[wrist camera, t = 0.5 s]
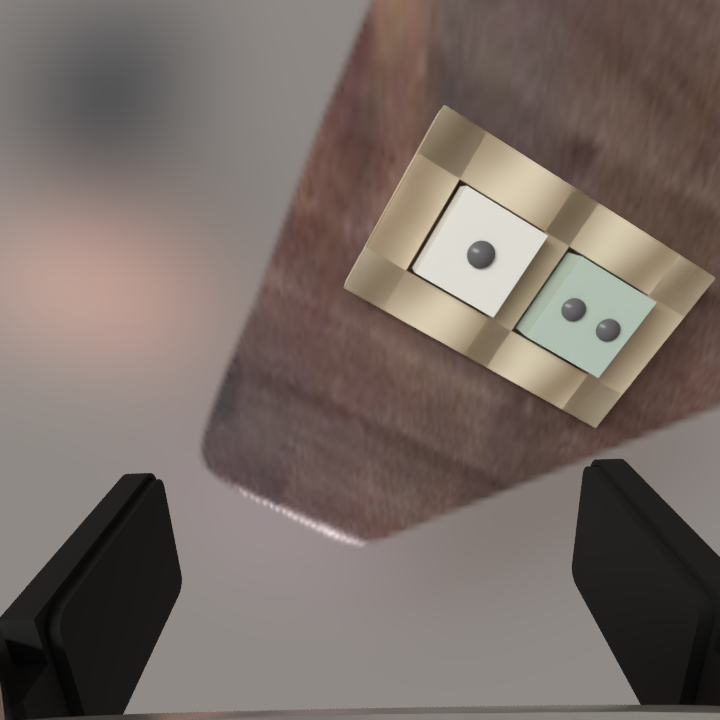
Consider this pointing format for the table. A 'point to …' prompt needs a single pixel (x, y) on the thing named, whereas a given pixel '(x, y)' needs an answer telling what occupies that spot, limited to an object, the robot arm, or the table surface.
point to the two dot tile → (584, 314)
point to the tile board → (565, 234)
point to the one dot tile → (478, 251)
